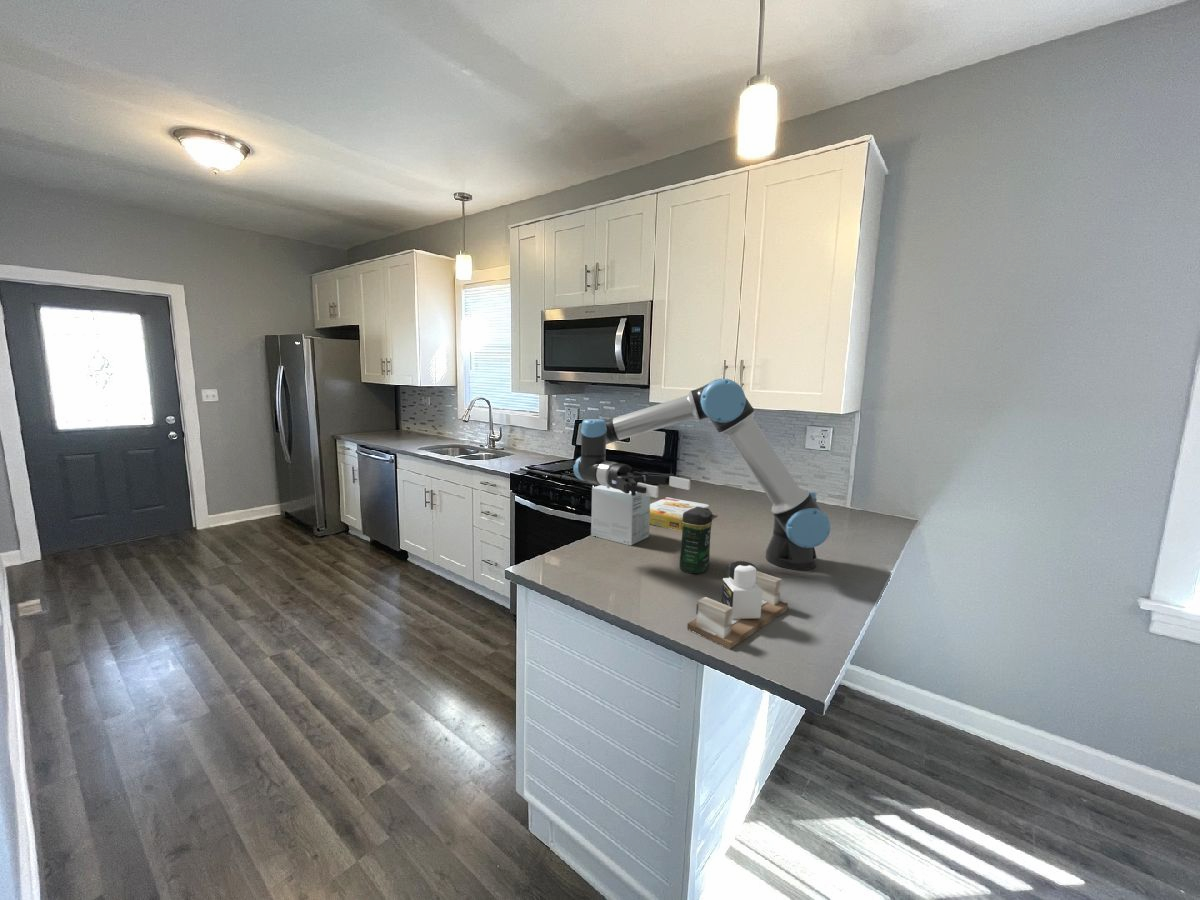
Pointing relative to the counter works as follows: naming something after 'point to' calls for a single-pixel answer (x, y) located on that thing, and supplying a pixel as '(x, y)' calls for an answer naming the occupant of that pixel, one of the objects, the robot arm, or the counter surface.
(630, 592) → the counter surface
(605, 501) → the supplement box
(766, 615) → the rail board
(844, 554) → the counter surface
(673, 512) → the cereal box
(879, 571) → the counter surface
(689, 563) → the coffee jar
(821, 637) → the counter surface
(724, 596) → the medicine bottle
